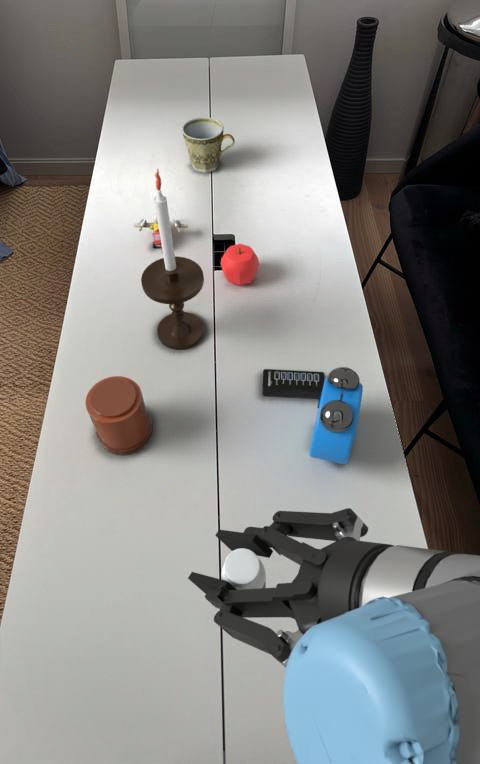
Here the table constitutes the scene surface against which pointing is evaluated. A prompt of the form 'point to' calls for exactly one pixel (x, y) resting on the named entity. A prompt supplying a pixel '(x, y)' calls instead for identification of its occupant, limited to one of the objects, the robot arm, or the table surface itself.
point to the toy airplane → (155, 226)
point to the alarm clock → (337, 416)
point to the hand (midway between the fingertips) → (212, 561)
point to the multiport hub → (292, 383)
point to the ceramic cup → (204, 142)
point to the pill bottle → (244, 570)
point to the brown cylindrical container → (119, 415)
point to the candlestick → (173, 285)
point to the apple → (239, 264)
